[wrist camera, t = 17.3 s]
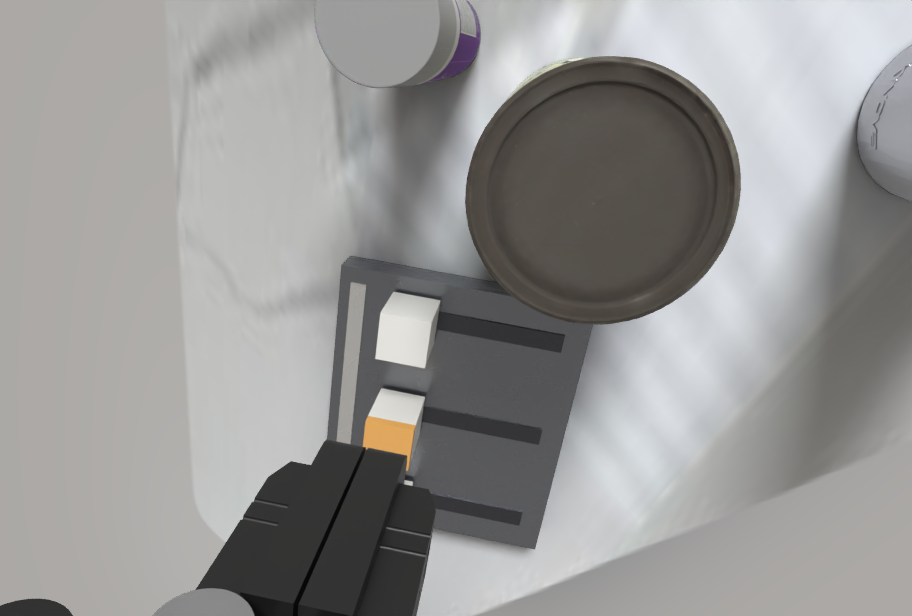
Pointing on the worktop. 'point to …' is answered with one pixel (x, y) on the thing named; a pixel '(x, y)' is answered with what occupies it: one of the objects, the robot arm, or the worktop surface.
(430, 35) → the container
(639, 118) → the coffee can
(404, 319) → the block
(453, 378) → the breaker panel
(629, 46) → the worktop surface
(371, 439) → the block
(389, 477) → the robot arm
